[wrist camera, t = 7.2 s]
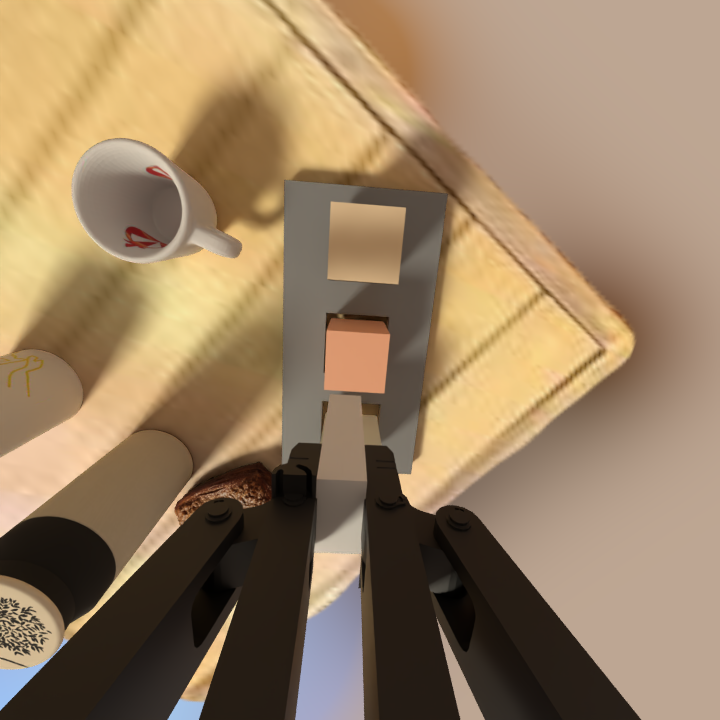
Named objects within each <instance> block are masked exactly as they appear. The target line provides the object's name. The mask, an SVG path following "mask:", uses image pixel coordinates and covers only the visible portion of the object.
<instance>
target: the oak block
mask: <svg viewBox="0 0 720 720" xmlns="http://www.w3.org/2000/svg"><path fill="white" fill-rule="evenodd" d="M405 214H406V208H404V207H392V206H380V205H367V204H355V203H343V202H331V208H330V231H329V253H328V276H327V279H331V280H345V281H358V282H372V283H386V284H398V283H399V273H400V263H401V253H402V243H403V233H404V224H405Z"/></svg>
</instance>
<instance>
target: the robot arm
mask: <svg viewBox="0 0 720 720" xmlns="http://www.w3.org/2000/svg"><path fill="white" fill-rule="evenodd" d="M271 479H272V498H271V500H270V501H268V502H266V503H264V504H262V505H259V506H255V507H250V508H245V509H243V505H242V504H241V503H240V502H239V501H238V500H235V499H233V498H224V497H223V498H217V499H213V500H211V501H208V502H206V503H204V504H203V505H201V506H200V507H199V508H198V509H197V510H196V511H195V512H194V513H193V514H192V515H191V516H190V517H189V518H188V519H187V520H186V521H185V522H184V523H183V524H182V525H181V526H180V527H179V528H178V529H177V530H176V531H175V532H174V533H173V534H172V535H171V536H170V537H169V538H168V539H167V540H166V541H165V542H164V543H163V544H162V545H161V546H160V547H159V549H158V550H157V551H156V552H155V553H154V554H153V555H152V556H151V557H150V558H149V559H148V560H147V561H146V562H145V563H144V564H143V565H142V566H141V567H140V568H139V569H138V570H137V571H136V572H135V573H134V574H133V575H132V576H131V577H130V578H129V579H128V580H127V581H126V582H125V583H124V584H123V585H122V586H121V587H120V589H119V590H118V591H117V592H116V593H115V594H114V595H113V596H112V597H111V598H110V599H109V600H108V601H107V602H106V603H105V604H104V605H103V606H102V607H101V608H100V609H99V610H98V611H97V612H96V613H95V614H94V615H93V616H92V617H91V618H90V619H89V620H88V621H87V622H86V623H85V624H84V625H83V626H82V627H81V628H80V630H79V631H78V632H77V633H76V634H75V635H74V636H73V637H72V638H71V639H70V640H69V641H68V642H67V643H66V644H65V645H64V646H63V647H62V648H61V649H60V650H59V651H58V652H57V653H56V654H55V655H54V656H53V657H52V658H51V659H50V660H49V662H47V663H46V664H45V665H44V667H43V668H42V669H41V670H40V671H39V672H38V673H37V674H36V675H35V676H34V677H33V678H32V679H31V680H30V681H29V682H28V683H27V684H26V685H25V686H24V687H23V688H22V689H21V690H20V691H19V692H18V693H17V694H16V695H15V696H14V697H13V698H12V699H11V700H10V701H9V702H8V703H7V705H5V707H3V708H2V710H1V711H0V720H167V719H168V718H169V716H170V714H171V713H172V711H173V709H174V707H175V706H176V704H177V702H178V701H179V699H180V697H181V696H182V694H183V692H184V691H185V689H186V687H187V685H188V684H189V682H190V680H191V679H192V677H193V675H194V674H195V672H196V670H197V668H198V667H199V665H200V663H201V662H202V660H203V658H204V657H205V655H206V653H207V652H208V650H209V648H210V646H211V645H212V643H213V641H214V640H215V638H216V636H217V635H218V633H219V631H220V629H221V628H222V626H223V624H224V623H225V621H226V619H227V618H228V616H229V614H230V612H231V611H232V609H233V607H234V606H235V604H236V602H237V601H238V602H237V605H236V608H235V611H234V614H233V617H232V620H231V623H230V626H229V629H228V632H227V636H226V639H225V642H224V645H223V648H222V651H221V654H220V657H219V660H218V663H217V666H216V669H215V672H214V675H213V678H212V681H211V684H210V688H209V691H208V694H207V697H206V700H205V703H204V706H203V709H202V712H201V715H200V718H199V720H295V716H296V706H297V698H298V689H299V682H300V673H301V665H302V656H303V647H304V640H305V632H306V623H307V615H308V606H309V598H310V589H311V581H312V573H313V557H314V553H342V554H361V553H362V556H361V567H360V578H359V588H361V609H362V610H361V611H362V646H363V683H364V716H365V717H364V718H365V719H364V720H460V716H459V712H458V708H457V704H456V700H455V695H454V691H453V687H452V682H451V678H450V674H449V669H448V665H447V661H446V657H445V652H444V648H443V644H442V640H441V635H440V631H439V627H438V623H437V619H438V621H439V623H440V625H441V627H442V630H443V632H444V634H445V636H446V638H447V640H448V642H449V645H450V647H451V649H452V651H453V653H454V655H455V657H456V659H457V661H458V664H459V666H460V668H461V670H462V672H463V674H464V676H465V678H466V680H467V683H468V685H469V687H470V689H471V691H472V693H473V695H474V697H475V700H476V702H477V704H478V706H479V708H480V710H481V712H482V714H483V717H484V718H485V720H641V719H640V718H639V716H638V715H637V714H636V713H635V711H634V710H633V709H632V708H631V706H630V705H629V704H628V703H627V702H626V700H625V699H624V698H623V697H622V695H621V694H620V693H619V692H618V690H617V689H616V688H615V687H614V686H613V684H612V683H611V682H610V681H609V679H608V678H607V677H606V675H605V674H604V673H603V672H602V671H601V669H600V668H599V667H598V666H597V664H596V663H595V662H594V661H593V659H592V658H591V657H590V656H589V654H588V653H587V652H586V651H585V649H584V648H583V647H582V646H581V644H580V643H579V642H578V641H577V639H576V638H575V637H574V636H573V635H572V633H571V632H570V631H569V630H568V628H567V627H566V626H565V625H564V623H563V622H562V621H561V620H560V618H559V617H558V616H557V615H556V613H555V612H554V611H553V610H552V609H551V608H550V606H549V605H548V604H547V602H546V601H545V600H544V599H543V598H542V596H541V595H540V594H539V592H538V591H537V590H536V589H535V587H534V586H533V585H532V584H531V582H530V581H529V580H528V579H527V577H526V576H525V575H524V574H523V572H522V571H521V570H520V569H519V568H518V566H517V565H516V564H515V563H514V561H513V560H512V559H511V558H510V556H509V555H508V554H507V553H506V551H505V550H504V549H503V548H502V546H501V545H500V544H499V543H498V541H497V540H496V539H495V538H494V537H493V535H492V534H491V533H490V532H489V530H488V529H487V528H486V527H485V525H484V524H483V523H482V522H481V520H480V519H479V518H478V517H477V516H476V515H475V514H474V513H473V512H471V511H469V510H467V509H465V508H463V507H459V506H453V505H447V506H444V507H441V508H440V509H439V510H438V511H437V512H436V515H433V514H430V513H426V512H423V511H420V510H417V509H416V508H414V507H412V506H411V505H410V503H409V501H408V499H407V497H406V496H405V495H403V494H402V490H401V485H400V481H399V476H398V472H397V467H396V463H395V458H394V453H393V452H392V451H391V450H390V449H389V448H388V446H382V445H364V431H363V417H362V404H361V396H355V395H337V394H330V396H329V403H328V409H327V415H326V422H325V428H324V435H323V441H322V444H320V443H298V444H297V445H296V446H295V447H293V448H292V449H291V453H290V456H289V459H288V462H287V463H286V464H282V465H280V466H279V467H277V468H275V470H274V471H273V472H272V474H271ZM436 617H437V618H436Z"/></svg>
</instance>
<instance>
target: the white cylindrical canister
mask: <svg viewBox="0 0 720 720" xmlns="http://www.w3.org/2000/svg"><path fill="white" fill-rule="evenodd" d="M82 402H83V388H82V384H81V382H80V379H79V377H78V376H77V374H76V372H75V371H74V370H73V369H72V368H71V366H70V365H69V364H67V363H66V362H65V361H64V360H62V359H61V358H59V357H58V356H56V355H54V354H52V353H49V352H46V351H43V350H37V349H28V350H22V351H18V352H15V353H11V354H7V355H4V356H0V457H2V456H4V455H6V454H7V453H9V452H11V451H13V450H15V449H16V448H18V447H20V446H22V445H23V444H25V443H27V442H29V441H31V440H32V439H34V438H36V437H38V436H40V435H41V434H43V433H45V432H47V431H48V430H50V429H52V428H54V427H56V426H57V425H59V424H61V423H63V422H65V421H66V420H68V419H70V418H71V417H73V416H74V415H75V414H76V413H77V412H78V411H79V409H80V407H81V405H82Z"/></svg>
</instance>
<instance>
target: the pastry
mask: <svg viewBox="0 0 720 720" xmlns="http://www.w3.org/2000/svg"><path fill="white" fill-rule="evenodd" d="M271 474H272V473H271V472H270V471H268V470H267V469H266V468H265V467H264V466H263V465H262V463H260V462H258V463H256V464H251V465H247V466H243V467H240V468H237V469H234V470H232V471H229V472H227V473H225V474H223V475H221V476H218V477H215V478H211V479H209V480H208V481H206V482H204V483H203V484H200V485H198V486H197V487H195V488H194V489H192V490H191V491H189V492H188V493H187V494H185V495H184V496H183V498H182V499H181V500H179V501H178V502H177V504H176V507H175V514H176V516H178V518H177V519H178V521H179V522H180V523H179V525H182V524H183V523H184V522H185V521H186V520H187V519H188V518H189V517H190V516H191V515H192V514H193V513H194V512H195V511H196V510H197V509H198V508H199V507H200V506H201V505H203V504H204V503H206V502H208V501H211V500H213V499H217V498H223V497H224V498H233V499H235V500H238V501H239V502H240V503H241V504H242V505H243V509H245V508H250V507H255V506H259V505H262V504H264V503H266V502H268V501H270V500H271V498H272V479H271Z"/></svg>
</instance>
